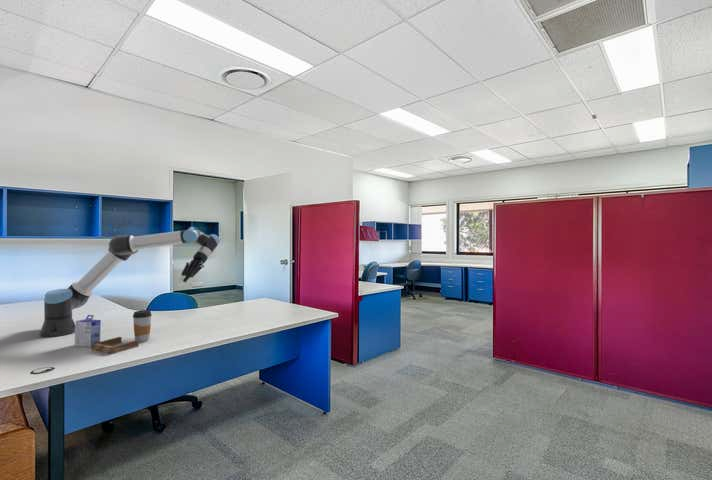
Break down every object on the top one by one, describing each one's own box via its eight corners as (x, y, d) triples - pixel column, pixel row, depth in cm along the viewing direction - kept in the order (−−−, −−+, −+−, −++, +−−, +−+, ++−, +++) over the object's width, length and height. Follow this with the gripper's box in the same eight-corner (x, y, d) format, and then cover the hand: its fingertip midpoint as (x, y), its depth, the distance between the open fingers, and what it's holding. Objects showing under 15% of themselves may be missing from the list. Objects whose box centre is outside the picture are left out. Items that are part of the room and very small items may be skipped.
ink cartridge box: (101, 344, 176) (101, 315, 176) (90, 347, 171) (91, 317, 171) (84, 342, 178) (84, 314, 178) (74, 346, 173) (74, 316, 173)
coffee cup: (155, 339, 185) (155, 310, 185) (140, 343, 178) (141, 314, 177) (143, 337, 188) (143, 309, 188) (128, 342, 180) (128, 312, 180)
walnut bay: (91, 350, 167) (91, 343, 167) (119, 342, 179) (119, 336, 179) (111, 354, 162) (111, 347, 162) (138, 346, 174) (138, 340, 174)
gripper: (213, 259, 218) (191, 290, 203) (197, 259, 223) (174, 289, 208) (207, 251, 213) (183, 282, 198) (190, 250, 218) (166, 281, 203)
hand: (179, 285), depth 203 cm, fingers closed
